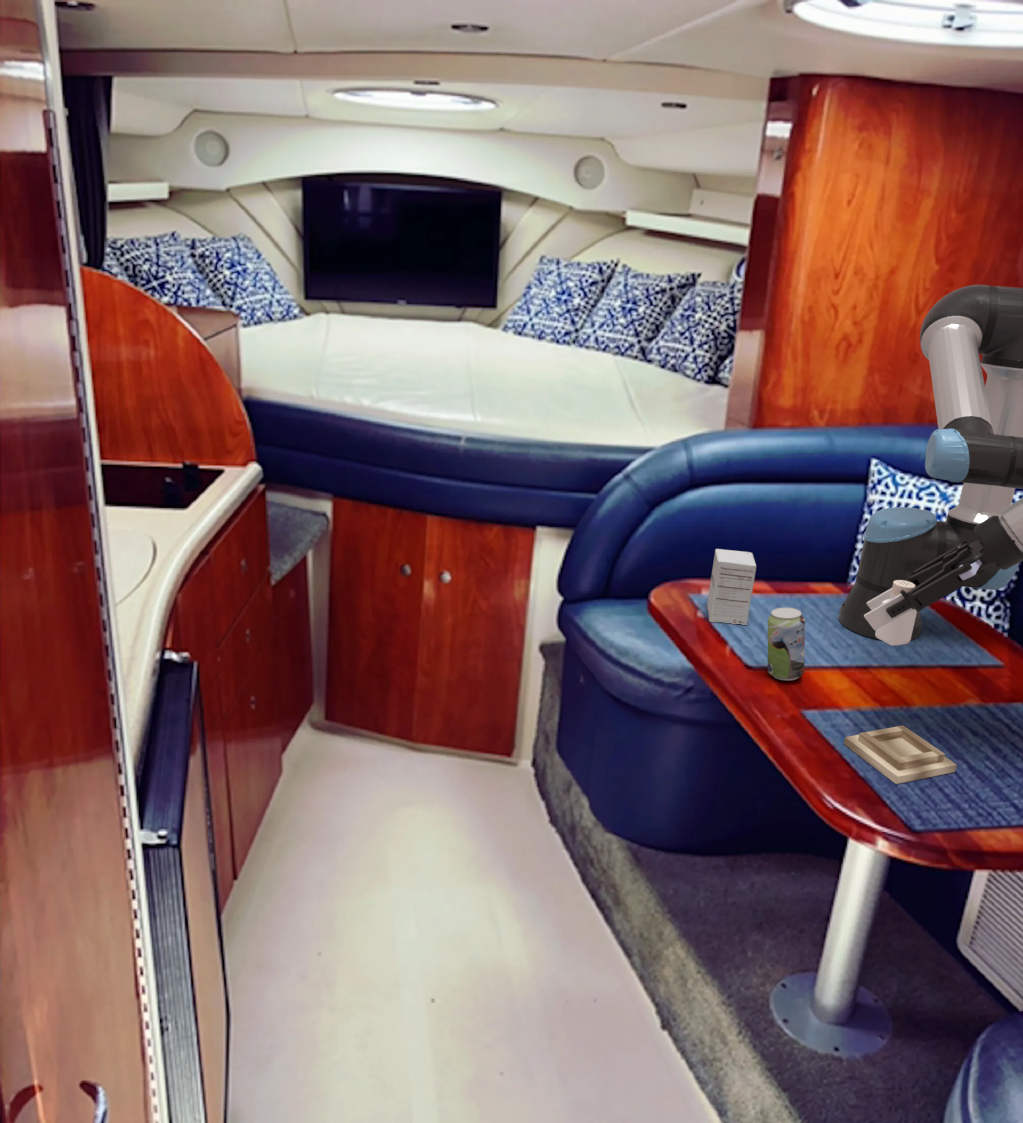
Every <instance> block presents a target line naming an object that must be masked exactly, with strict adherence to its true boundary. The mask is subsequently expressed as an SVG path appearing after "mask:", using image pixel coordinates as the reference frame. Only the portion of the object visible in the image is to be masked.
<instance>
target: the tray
mask: <svg viewBox="0 0 1023 1123" xmlns="http://www.w3.org/2000/svg"><path fill="white" fill-rule="evenodd" d="M843 745H844V746H846V747H847V748H848V747H849V748H848V749H850V751H852V752H854V753H855V754H856V755H857V756H859V757H860V758H861V759H863V761H865V762H866V763H868V764H869V765H870V766H872V767H873V768H875V769H876V770H877V771H878V772H879V773H881V774H882V775H883V776H885V777H886V778H888V780H890V781H891V782H893V783H894V784H895V785H899V784H903V783H908V782H913V781H918V780H922V779H928V778H932V777H938V776H942V775H947V774H951V773H955V772H956V769H957V766H958V764H956V763H955V762H954V761H952V760H951V759H949V758H948V757H946V753H944V752H943V751H941V750H940V749H938V748H937V747H935V746H934V745H932V744H931V743H930V742H928V741H927V740H925V739H924V738H922V737H921V736H920V735H918V734H916V733H915V732H913V730H910V728H908V727H906V726H905V725H898V726H893V727H887V728H881V729H877V730H876V729H875V730H871V731H865V732H859V734H855V735H850V736H849V735H848V736H845V737H844V741H843Z"/></svg>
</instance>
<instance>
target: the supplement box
mask: <svg viewBox="0 0 1023 1123" xmlns="http://www.w3.org/2000/svg"><path fill="white" fill-rule="evenodd" d="M756 571H757V564H756V560H755V557H754V554H753V552H750V551H744V550H743V551H740V550H734V549H733V550H731V549H722V548H715V550H714V557H713V564H712V570H711V576H710V585H709V590H708V596H707V603H706V609H707V612H708V621H709V622H711V623H716V622H724V623H732V624H731V625H733V624H742V625H746V626H747V625H748V618H749V613H750V607H751V601H752V596H753V591H754V590H753V589H754V588H753V587H754V583H755V579H756V578H755V577H756ZM724 623H723V624H724ZM742 625H741V626H742Z"/></svg>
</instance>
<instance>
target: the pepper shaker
mask: <svg viewBox="0 0 1023 1123" xmlns="http://www.w3.org/2000/svg"><path fill="white" fill-rule="evenodd" d="M914 588H915V584H913V583H911V582H908V581H904V580H895V581H894V582H893V586H892V591H891V598H890V599H887V600H884V601H883V602H882V604H884V603H886V602H887V601H889V600H891V599H893V598H894V597H896V596H898V595H900V594H901V593H900V591H901V590H904V591H905V592H906V593H907V592H909V591H911V590H912V589H914ZM882 604H881V605H882ZM916 614H917V611H916V610H915V609H914V610H913V609H912V610H911V611H909V612H907V613H905V614H903V615H902V616H900V617H898V618H896V619H894V620H893V621H891V622H889V623H887V624H886V625H884V626H882V627H880V628H878V629H877V630H876V632H875V636H876V637H877V638H878V639H877V640H879V639H880V640H879V641H882V642H884V643H886V644H888V645H889V646H892V647H893V646H901V645H906V644H907V645H908V644H909V643H910V642H911V641H912V640H911V636H912V631H913V627H914V623H915V618H916Z"/></svg>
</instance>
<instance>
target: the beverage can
mask: <svg viewBox="0 0 1023 1123" xmlns="http://www.w3.org/2000/svg"><path fill="white" fill-rule="evenodd" d="M805 635H806V620H805V618H804V616H803V614H802V611H801V610H800V609H798V608H794V607H778V608H775V609H773V610H771V613H770V615H769V617H768V618H767V673H768V674H769V675H770V676H773V678H775V679H776V680H780V681H785V682H786V681H794V680H798V679H799V678H800V677H802V676H803V675H804V674H805V664H806V663H805V660H806V659H805V653H806V652H805V650H806V645H805V643H806V642H805V641H806V636H805Z"/></svg>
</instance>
